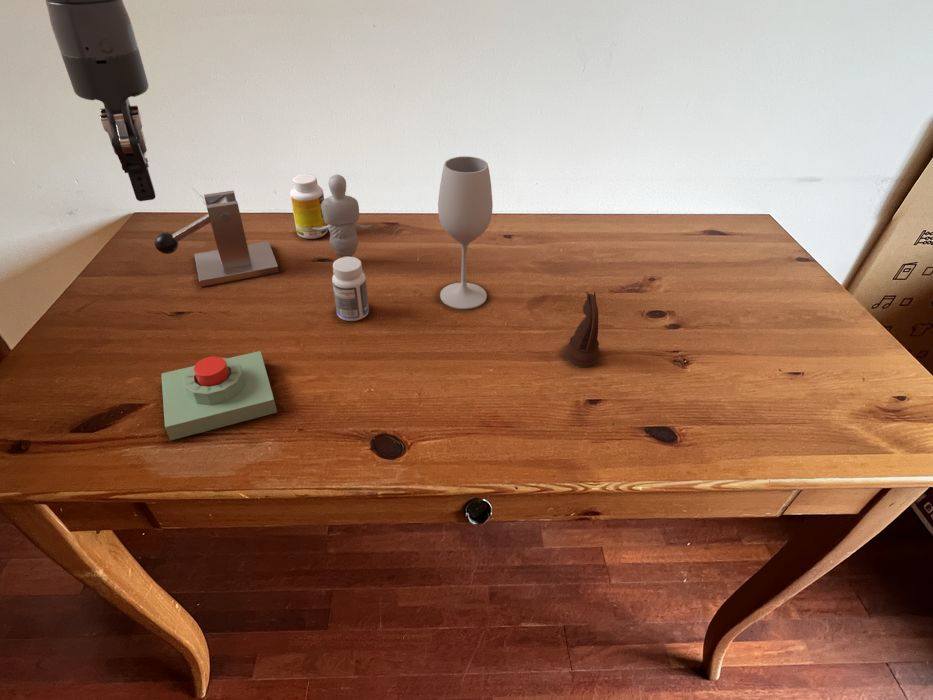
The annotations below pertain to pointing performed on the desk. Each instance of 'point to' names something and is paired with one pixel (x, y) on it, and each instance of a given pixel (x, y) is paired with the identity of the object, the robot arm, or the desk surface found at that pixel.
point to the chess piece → (585, 337)
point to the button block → (216, 397)
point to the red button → (211, 371)
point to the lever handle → (181, 233)
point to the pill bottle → (350, 289)
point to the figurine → (341, 218)
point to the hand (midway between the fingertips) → (146, 198)
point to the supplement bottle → (307, 206)
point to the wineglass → (464, 219)
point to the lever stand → (231, 246)
